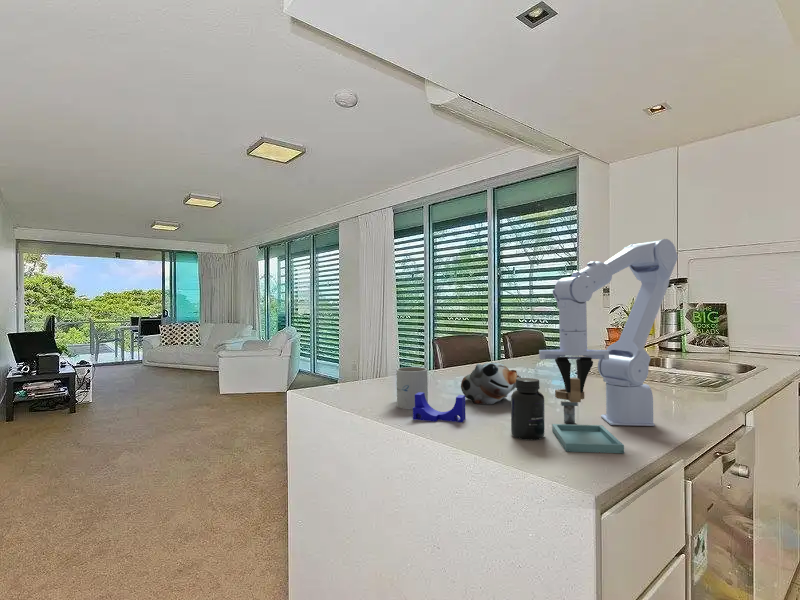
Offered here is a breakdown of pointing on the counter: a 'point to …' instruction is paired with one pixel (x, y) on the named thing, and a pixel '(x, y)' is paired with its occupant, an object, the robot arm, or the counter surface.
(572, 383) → the ring
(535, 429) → the supplement bottle
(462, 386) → the lucky cat figurine
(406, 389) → the mug
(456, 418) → the blue curved cradle
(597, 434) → the tray
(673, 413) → the counter surface
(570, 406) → the grey cylinder and bar
